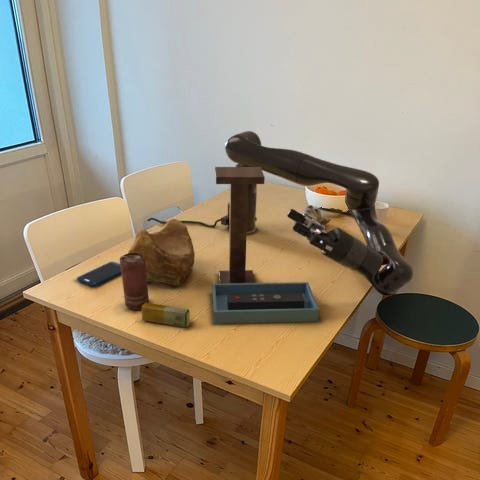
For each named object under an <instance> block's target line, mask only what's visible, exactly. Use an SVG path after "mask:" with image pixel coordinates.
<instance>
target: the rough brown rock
mask: <svg viewBox="0 0 480 480" xmlns="http://www.w3.org/2000/svg"><path fill="white" fill-rule="evenodd" d="M166 221H167V222H166V223H164V225H163V226H162V228H161V229H160V230H159V231H156V232H153V233H149V231H147V230H146V229H139V230H137V232H136V233H135V238H134V241H133V243H132V245H131V246H130V248H129V250H128V252H127V254H128V253H139V254H141V255H143V257H144V259H145V266H146V276H147V283H150V282H151V281H154V282H157V283H166V284H168V285H169V286H174V287H178V286H180V285H181V284H182V283H184V280H185V279H186V277H187V276H188V274H189V273H190V272H191V271H192V268H194V267H193V266H194V264H195V256H196V255H195V254H196V253H195V248H194V244H193V241H192V238H191V236H190V235H191V234H190V232H189V230H188V227H187V225H186V224H185V223H182V222H181V221H182V220H179V219H176V218H172V219H168V220H166Z"/></svg>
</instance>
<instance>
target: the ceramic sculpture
mask: <svg viewBox="0 0 480 480" xmlns="http://www.w3.org/2000/svg"><path fill="white" fill-rule="evenodd" d="M304 213H305V214H307V215H309V216H310V217H312V218H314V219H315V220H317V221H319V222H320V223H322V224H323V226H326V225H328V224H329V223H330V222H331V220H332V218H326V217H322V213H321V210H320V208H317V207H314V206H313V205H312V204H311V205H308V206H306V207H305V208H304V209H303V210H302V211H301V212H300V214H302V215H304ZM295 223H296V222H295V221H294V224H295ZM305 223H309V221H308V220H306V221H305Z"/></svg>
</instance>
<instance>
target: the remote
mask: <svg viewBox="0 0 480 480" xmlns="http://www.w3.org/2000/svg"><path fill="white" fill-rule="evenodd" d="M304 303H305V300H304V298H303V295H302V293H276V294H230V295H227V304H228V310H257V309H300V308H304Z"/></svg>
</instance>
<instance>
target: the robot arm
mask: <svg viewBox="0 0 480 480" xmlns="http://www.w3.org/2000/svg"><path fill="white" fill-rule="evenodd" d="M224 150H225V154H226V156H227V158H228V159H229V160H230V161H232V162H233V163H234V164H236V165H235V166H234V167H261V169H262V172H266V173H268V174H270V175H272V176H275V177H278V178H281V179H282V180H283V179H284V180H286V181H288V182H291V183H294V184H295V185H299V186H301V187H311V186H317V185H320V184H332V185H335V186H339V187H341V188H343V189H345V194H344V195H345V196H344V198H345V203H346V205H347V207H348V209H349V211H350V213H351V214H350V213H349V214H350V215H351V216H352V217H353V219H354V221H355V223H356V224H357V227H358V228H359V229H360V232H361V234H362V236H363V239H364V242H365V243H366V244H365V243H364V242H363V241H361V240H360V239H358V238H357V237H355V236H353V235H352V234H350V233H348V232H347V231H345V230H344V229H342V228H340V227H335V228H333V229H331V230H328V228H327V227H326V225H323V224H322V223H320V222H319V221H317V220H315V219H314V218H312V217H310V216H309V215H307V214H305V213H304V215H302V214H301V212H299V211H297V210H295V209H294V208H290V209H289V211H288V212H287V213H286V216H287V218H288V219H290V220H292V221H294V225H293V227H292V230H293V231H294V232H296V233H297V234H298V235H300V236H302V237H304V238H305V240H306V241H308V243H309V244H310V245H312V246H314V247H315V248H317V249H318V250H320V252H321V254H322V255H323V256H324V257H326V258H328V259H330V260H332V261H334V262H335V263H337V264H339V265H340V266H342V267H345V268H347V269H349V270H351V271H353V272H355V273H357V274H359V275H360V276H362V277H363V278H364V279H365V280H366V281H367V282H368V283H369V284H370V285H371V286H372V288H374V290H376V292H377V293H379V294H380V295H382V296H392V295H395V293H398V291H399V290H401V289H402V288H403V287H405V286H406V285H408V284H409V283H410V282H411V281H412V280H413V278H414V268H413V267H412V265H411V263H410V262H408V260H407V259H406V258H405V257H404V256H403V255H402V253H401V252H400V251H399V250H398V248H397V245H396V243H395V241H394V238H393V236H392V234H391V232H390V230H389V228H388V227H387V226H386V225H385V224H384V225H383V224H382V223H381V222H380V221H379V220H378V218H377V215H376V210H375V202H376V201H377V199H378V193H379V188H380V180H379V178H378V177H377V176H376V175H375V174H373V173H372V172H369V171H367V170H363V169H359V168H355V167H350V166H346V165H341V164H337V163H334V162H331V161H329V160H324V159H322V158H319V157H316V156H313V155H311V154H308V153H305V152H302V151H298V150H296V149H295V150H294V149H289V148H279V147H268V146H264V145H262V141H261V138H260V136H259V135H258V134H257V133H256V132H254V131H252V130H246V131H242V132H239V133H235V134H234V135H232V136H230V137H229V138H228V139H227V140H226V142H225V145H224ZM257 196H258V184H248V206H247V235H249V234H252V233H255V232H256V230H257V229H256V228H257V226H256V222H257V221H258V219H257V218H258V217H257V201H258V200H257V198H258V197H257ZM229 212H230V201H229V202H228V203H227V214H226V215H224V216H222V217H220V218H219V219H217V220H215V222H214V224H207V223H204V222H202V221H196V220H180V221H181V222H182V223H183V224H197V225H201V226H203V227H207V228H215V227H216V226H217V224H218V223H219V222H220V225H222V226H226V227H227V230H229ZM306 220H308V221H309V223H305V221H306ZM150 221H155V222H157V223H160V224H166V222H167V221H168V220H165V221H163V220H159V219H157V218H155V217H150V218H148V219H147V220H146V222H150ZM295 222H296V223H295ZM382 266H384V267H382ZM381 268H382V269H381Z"/></svg>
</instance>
